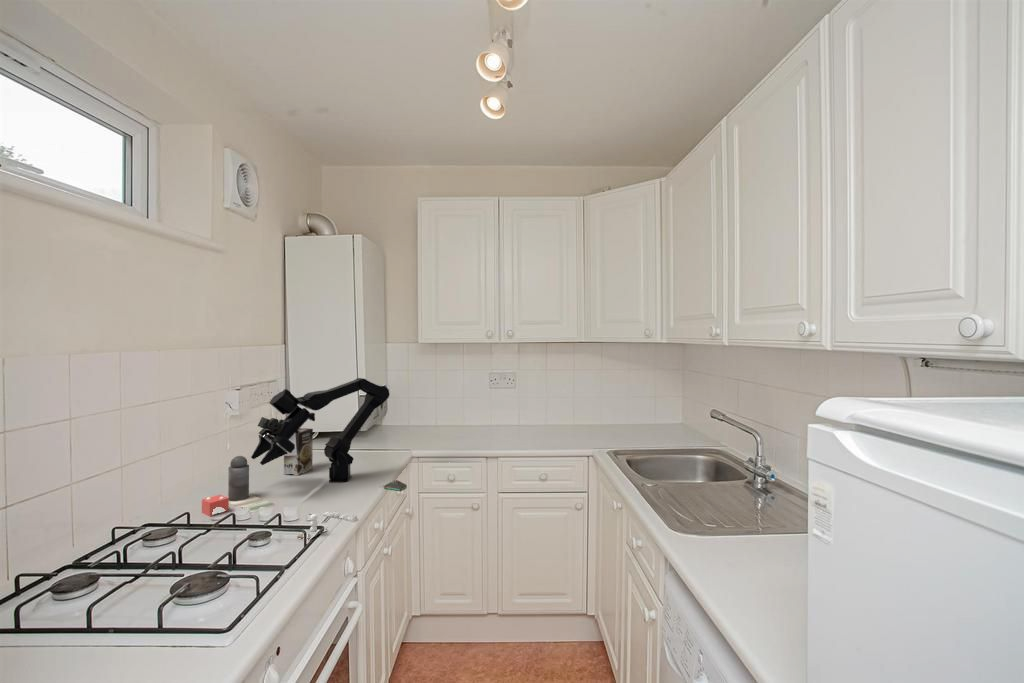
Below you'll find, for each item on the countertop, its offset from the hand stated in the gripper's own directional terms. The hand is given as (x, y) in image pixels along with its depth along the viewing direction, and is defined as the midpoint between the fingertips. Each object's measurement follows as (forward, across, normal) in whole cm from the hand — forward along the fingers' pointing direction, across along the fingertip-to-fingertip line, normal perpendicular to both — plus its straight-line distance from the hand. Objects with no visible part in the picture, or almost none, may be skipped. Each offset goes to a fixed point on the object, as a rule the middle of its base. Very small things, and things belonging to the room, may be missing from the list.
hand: (256, 461), depth 149 cm
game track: (+11, +6, +6) cm, 14 cm away
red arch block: (+18, +8, -1) cm, 19 cm away
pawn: (+11, 0, +4) cm, 12 cm away
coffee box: (-6, -20, +23) cm, 31 cm away
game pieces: (-5, +30, +22) cm, 38 cm away
